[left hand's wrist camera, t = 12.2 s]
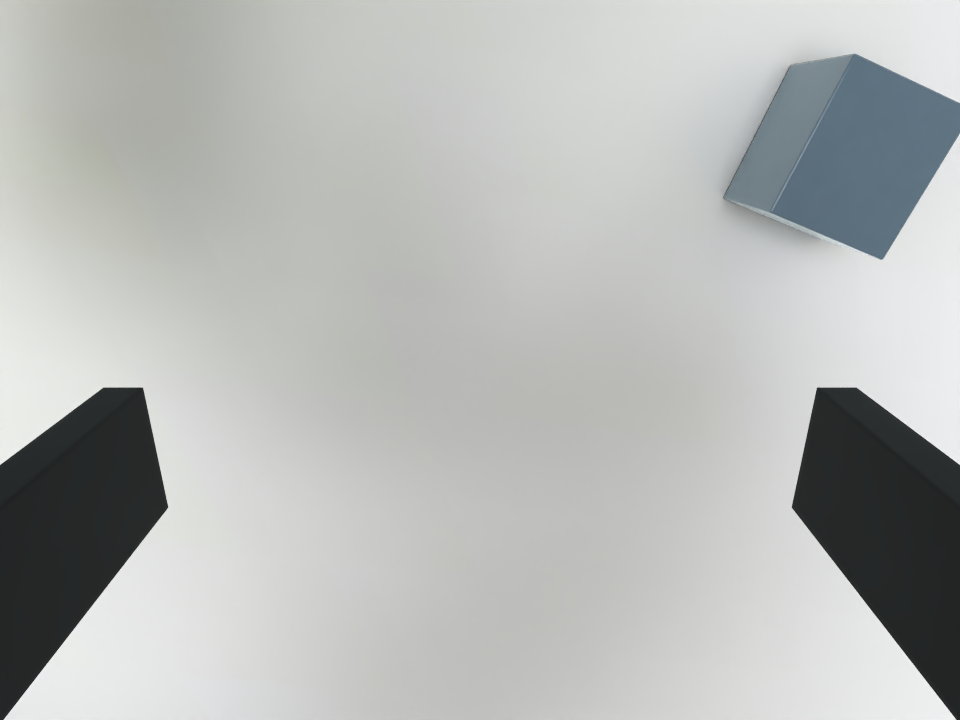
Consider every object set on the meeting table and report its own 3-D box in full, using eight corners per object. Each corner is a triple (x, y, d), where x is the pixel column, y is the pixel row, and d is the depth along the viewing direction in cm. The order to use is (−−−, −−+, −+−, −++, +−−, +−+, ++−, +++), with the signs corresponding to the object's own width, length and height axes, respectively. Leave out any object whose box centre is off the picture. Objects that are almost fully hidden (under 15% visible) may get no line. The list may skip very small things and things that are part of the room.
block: (820, 239, 25) (883, 260, 21) (722, 197, 24) (769, 212, 21) (892, 111, 23) (975, 109, 20) (790, 64, 23) (854, 52, 19)
